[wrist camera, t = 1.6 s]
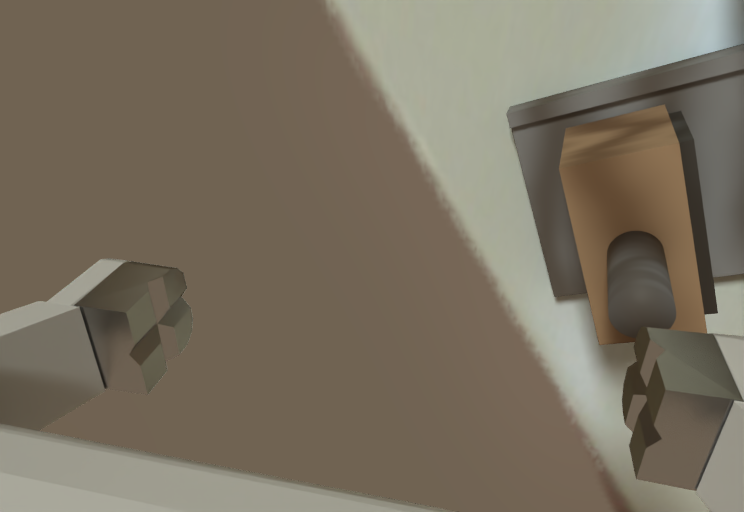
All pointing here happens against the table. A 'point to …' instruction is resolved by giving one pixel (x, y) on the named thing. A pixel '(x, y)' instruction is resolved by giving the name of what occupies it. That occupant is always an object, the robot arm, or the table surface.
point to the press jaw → (639, 223)
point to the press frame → (629, 94)
